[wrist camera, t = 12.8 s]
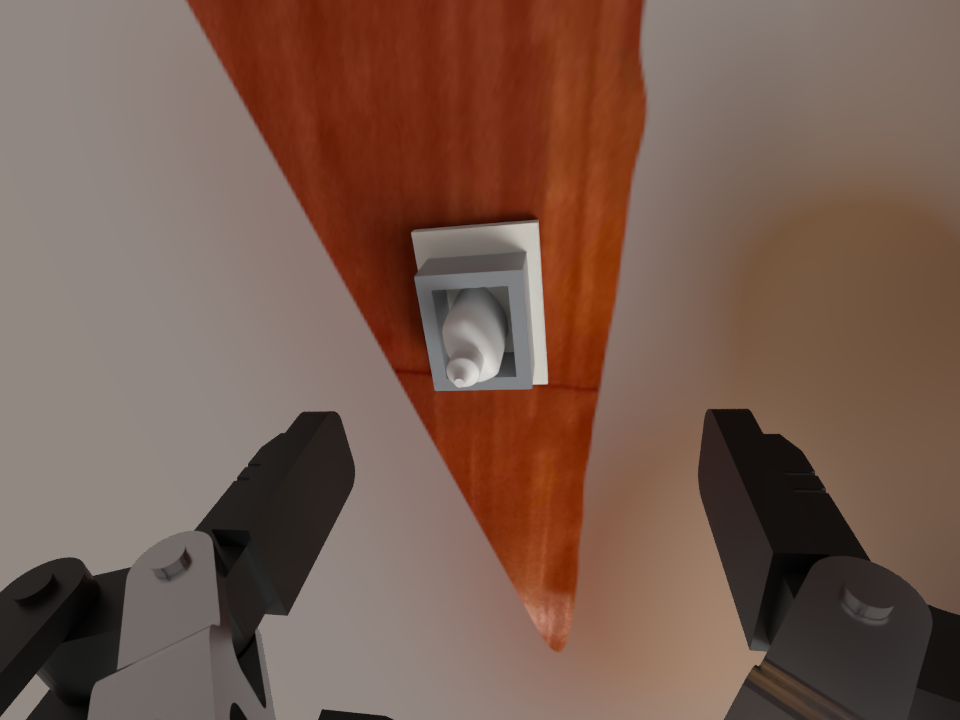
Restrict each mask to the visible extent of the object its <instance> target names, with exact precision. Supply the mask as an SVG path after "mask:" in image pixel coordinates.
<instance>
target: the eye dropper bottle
mask: <svg viewBox="0 0 960 720" xmlns="http://www.w3.org/2000/svg"><path fill="white" fill-rule="evenodd" d="M442 335H443V341H444V345H445V349H446V351H447V354H448V356H449V358H450V360H449V362H448V365H447V368H446V372H447V376H448V378H449V380H450V381H451V382H452V383H454V384H455V386H456V387H459V388H461V387H469V386H472V385H474V384H475V383H476V382H483V381H485V380H488V379H490V378H492V377H494V376H495V375H496V374H498V372H499V368H500V365H501V361H502V357H503V353H504V348H505V344H506V339H507V335H508V326H507V321H506V317H505V314H504V311H503V309H502V307H501V305H500V304H499V302H498V301H497V299H496V298H495V297H494V296H493V295H492V294H491V293H490V292H489V291H488V290H487V289H486V288H485V287H481V288H465V289H463V290H462V291H460V292H459V293H458V295H457V297H456V299H455V301H454V303H453V305H452V307H451V309H450V311H449V313H448V315H447V317H446V320H445V322H444V324H443V328H442Z"/></svg>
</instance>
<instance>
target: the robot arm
mask: <svg viewBox="0 0 960 720" xmlns="http://www.w3.org/2000/svg"><path fill="white" fill-rule="evenodd" d="M354 479H355V466H354V461H353V457H352V454H351V451H350V448H349V444H348V441H347V437H346V434H345V431H344V427H343V424H342V420H341V418H340V416H339V415H338V413H336V412H335V411H329V412H302V413H301V414H300V415H299V416H298V417H297V418H296V420H295V421H294V422H293V424H292V425H291V426H290V427H289V429H288V430H287V432H286V433H281V434H279V435H278V436H276V437H275V438H274V439H272V440H271V441H270V442H268V443H267V444H265V445H264V446H263V447H261V449H260V450H259V451H258V452H257V453H256V455H255V456H254V457H253V458H252V460H251V461H250V462H249V463H248V467H245V468H244V470H243V471H242V472H241V473H240V475H239V476H238V477H237V481H234V482H233V483H232V485H231V486H230V487H229V488H228V489H227V491H226V492H225V493H224V494H223V496H222V497H221V498H220V499H219V501H218V502H217V503H216V504H215V506H214V507H213V508H212V509H211V510H210V512H209V513H208V514H207V515H206V517H205V518H204V519H203V521H202V522H201V523H200V524H199V525H198V527H197V528H196V529H195V530H194V531H187V532H182V533H178V534H175V535H172V536H170V537H168V538H166V539H164V540H162V541H160V542H158V543H157V544H155V545H154V546H153V547H151V548H149V549H148V550H147V551H146V552H144V553H143V554H142V555H141V556H140V557H139V558H138V560H137V561H136V562H135V563H134V564H133V566H132V567H130V568H126V569H122V570H118V571H113V572H109V573H104V574H100V575H95V576H92V575H91V573H90V572H89V570H88V569H87V568H86V566H85V565H84V563H83V562H82V561H81V560H79V559H77V558H70V557H69V558H60V559H56V560H53V561H49V562H47V563H44V564H42V565H40V566H38V567H36V568H33V569H31V570H30V571H28V572H26V573H25V574H23V575H21V576H20V577H19V578H17V579H16V580H14V581H13V582H12V583H10V584H9V585H8V586H7V587H6V588H5V589H4V590H3V591H1V592H0V717H1V715H2V714H3V713H4V712H5V710H6V709H7V708H8V707H9V706H10V705H11V703H12V702H13V701H14V699H15V698H16V697H17V696H18V695H19V694H20V692H21V691H22V690H23V689H24V688H25V686H26V685H27V684H28V683H29V681H30V680H31V679H32V678H33V677H34V675H35V674H37V675H38V676H39V677H40V678H41V679H42V681H43V682H44V683H45V684H46V685H47V686H48V687H49V688H50V690H49V691H48V692H47V693H46V695H45V696H44V697H43V698H42V700H41V701H40V703H39V704H38V705H37V706H36V707H35V709H34V710H33V711H32V713H31V714H30V715H29V716H28V718H27V719H26V720H276V718H275V713H274V707H273V701H272V695H271V689H270V683H269V678H268V672H267V667H266V660H265V655H264V649H263V643H262V637H261V634H260V631H259V630H258V625H259V624H260V622H261V620H262V618H263V616H264V615H265V614H272V615H286V616H287V615H288V614H289V612H290V610H291V608H292V606H293V604H294V602H295V600H296V598H297V596H298V594H299V592H300V590H301V588H302V586H303V584H304V582H305V580H306V578H307V577H308V575H309V572H310V571H311V569H312V567H313V565H314V563H315V561H316V559H317V557H318V555H319V553H320V551H321V549H322V547H323V545H324V543H325V541H326V539H327V537H328V535H329V533H330V531H331V529H332V527H333V525H334V523H335V521H336V520H337V517H338V516H339V514H340V512H341V510H342V508H343V506H344V504H345V502H346V500H347V498H348V496H349V494H350V492H351V490H352V487H353V484H354ZM698 481H699V489H700V495H701V499H702V502H703V505H704V508H705V512H706V515H707V517H708V521H709V524H710V527H711V530H712V533H713V537H714V540H715V543H716V546H717V549H718V552H719V555H720V558H721V562H722V565H723V568H724V571H725V574H726V577H727V580H728V583H729V586H730V590H731V593H732V596H733V599H734V602H735V605H736V609H737V612H738V615H739V618H740V621H741V624H742V627H743V631H744V633H745V637H746V640H747V643H748V646H749V649H750V650H754V651H767V653H766V655H765V657H764V659H763V661H762V662H761V664H760V665H759V666H757V665H755V666H754V667H753V668H752V669H751V671H750V672H749V674H748V676H747V677H746V679H745V681H744V683H743V684H742V687H741V688H740V690H739V692H738V694H737V696H736V698H735V700H734V701H733V703H732V705H731V707H730V709H729V711H728V713H727V715H726V716H725V718H724V720H960V615H957V614H953V613H950V612H947V611H944V610H941V609H938V608H935V607H933V606H931V605H928V604H926V602H925V600H924V599H923V597H922V596H921V595H920V594H919V593H918V592H917V590H916V589H914V588H913V587H912V586H911V585H910V584H909V583H908V582H907V581H905V580H904V579H903V578H901V577H900V576H899V575H897V574H895V573H894V572H892V571H890V570H889V569H887V568H885V567H883V566H881V565H878V564H876V563H873V562H871V560H870V559H869V557H868V556H867V554H866V553H865V551H864V549H863V548H862V546H861V545H860V543H859V541H858V540H857V538H856V537H855V535H854V533H853V532H852V530H851V529H850V527H849V525H848V524H847V522H846V521H845V519H844V518H843V516H842V514H841V513H840V511H839V509H838V508H837V506H836V505H835V503H834V501H833V500H832V498H831V497H830V495H829V494H828V493H826V489H825V487H824V485H823V484H822V482H821V480H820V479H819V477H818V476H815V471H814V469H813V468H812V466H811V464H810V463H809V461H808V460H807V458H806V456H805V455H804V454H803V452H802V451H801V450H800V449H799V448H797V447H796V446H794V445H793V444H792V443H791V442H789V441H788V440H787V439H785V438H784V437H783V436H782V435H780V434H763V432H762V431H761V429H760V427H759V425H758V423H757V421H756V420H755V418H754V416H753V414H752V412H751V411H750V410H749V409H708V410H707V412H706V414H705V419H704V427H703V434H702V442H701V451H700V459H699V467H698ZM318 720H393V719H391V718H389V717H387V716H381V715H370V714H361V713H352V712H342V711H333V710H323V709H322V711H321V714H320V716H319V719H318Z"/></svg>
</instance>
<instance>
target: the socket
mask: <svg viewBox="0 0 960 720" xmlns="http://www.w3.org/2000/svg"><path fill="white" fill-rule="evenodd" d="M411 235H412V241H413V246H414V252H415V257H416V263H417V269H418V272H417V273H416V275H415V276H414V279H415V285H416V290H417V295H418V301H419V306H420V312H421V317H422V323H423V328H424V333H425V339H426V344H427V350H428V355H429V361H430V366H431V371H432V377H433V382H434V388H435V391H457V390H505V389H532V385H533V384H548V369H547V352H546V336H545V319H544V303H543V286H542V270H541V253H540V237H539V220H526V221H513V222H501V223H489V224H477V225H464V226H452V227H440V228H428V229H415V230H413V231H412V232H411ZM481 287H485V288H486V289H487V290H488V291H489V292H490V293H491V294H492V295H493V296H494V297H495V298H496V299H497V301H498V302H499V304H500V305H501V307H502V309H503V311H504V314H505V317H506V321H507V326H508V335H507V339H506V344H505V348H504V353H503V357H502V361H501V365H500V368H499V372H498V374H496V375H495V376H494V377H492V378H490V379H488V380H485V381H483V382H476V383H475V384H474V385H472V386H469V387H461V388H459V387H456V386H455V384H454V383H452V382H451V381H450V380H449V378H448V376H447V372H446V368H447V365H448V362H449V360H450V358H449V356H448V354H447V351H446V349H445V345H444V341H443V335H442V328H443V324H444V322H445V320H446V317H447V315H448V313H449V311H450V309H451V307H452V305H453V303H454V301H455V299H456V297H457V295H458V293H459V292H460V291H462V290H463V289H465V288H481Z"/></svg>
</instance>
